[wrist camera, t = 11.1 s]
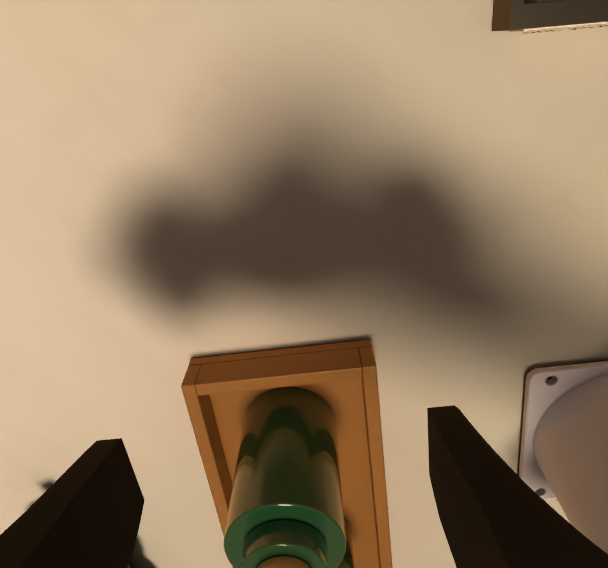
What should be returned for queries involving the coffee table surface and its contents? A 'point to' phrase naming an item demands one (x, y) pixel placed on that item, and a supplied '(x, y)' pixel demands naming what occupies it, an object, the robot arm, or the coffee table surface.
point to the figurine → (547, 14)
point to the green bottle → (287, 485)
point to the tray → (327, 384)
